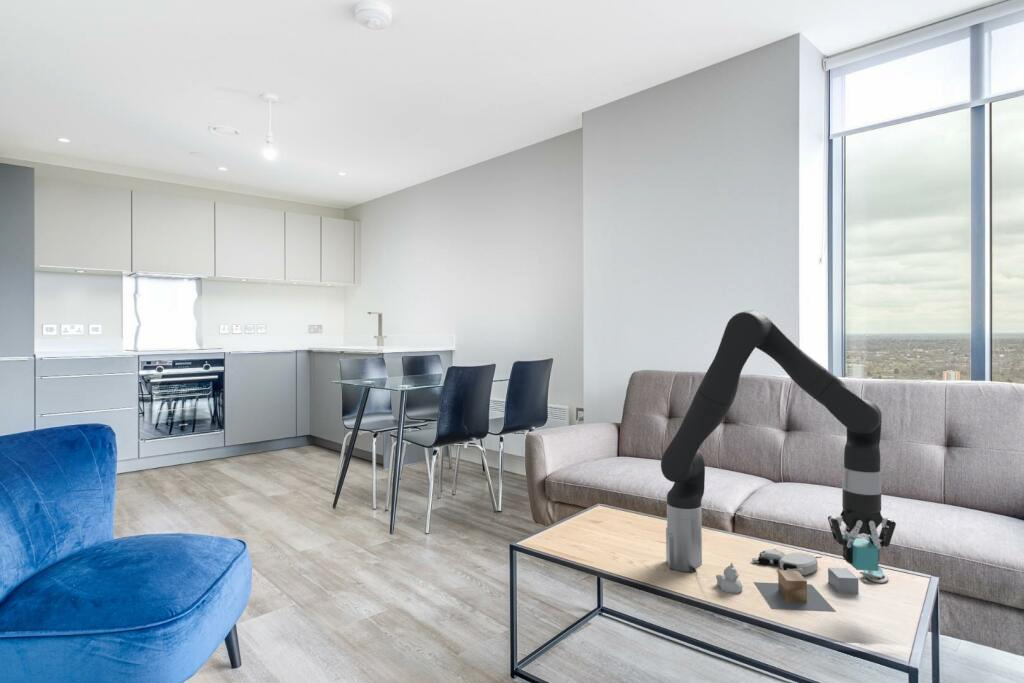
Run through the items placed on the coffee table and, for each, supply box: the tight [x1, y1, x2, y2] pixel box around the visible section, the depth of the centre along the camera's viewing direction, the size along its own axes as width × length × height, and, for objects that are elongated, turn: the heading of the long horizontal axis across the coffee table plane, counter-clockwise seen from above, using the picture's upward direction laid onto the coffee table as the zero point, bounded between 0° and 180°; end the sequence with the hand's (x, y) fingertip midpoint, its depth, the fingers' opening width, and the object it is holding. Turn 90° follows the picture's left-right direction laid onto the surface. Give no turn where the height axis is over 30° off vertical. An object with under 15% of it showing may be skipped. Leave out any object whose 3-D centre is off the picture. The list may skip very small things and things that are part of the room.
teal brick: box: [850, 537, 880, 571], centre depth 128 cm, size 4×6×5 cm
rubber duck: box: [715, 562, 743, 594], centre depth 140 cm, size 5×7×8 cm
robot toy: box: [751, 548, 823, 576], centre depth 154 cm, size 12×4×15 cm
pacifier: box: [859, 566, 889, 584], centre depth 147 cm, size 7×6×6 cm
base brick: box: [777, 569, 808, 602], centre depth 136 cm, size 4×6×5 cm
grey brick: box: [827, 567, 860, 595], centre depth 140 cm, size 4×6×5 cm
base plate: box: [753, 581, 837, 613], centre depth 136 cm, size 14×14×1 cm
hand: (861, 562), depth 128 cm, fingers closed on teal brick, 4 cm apart
